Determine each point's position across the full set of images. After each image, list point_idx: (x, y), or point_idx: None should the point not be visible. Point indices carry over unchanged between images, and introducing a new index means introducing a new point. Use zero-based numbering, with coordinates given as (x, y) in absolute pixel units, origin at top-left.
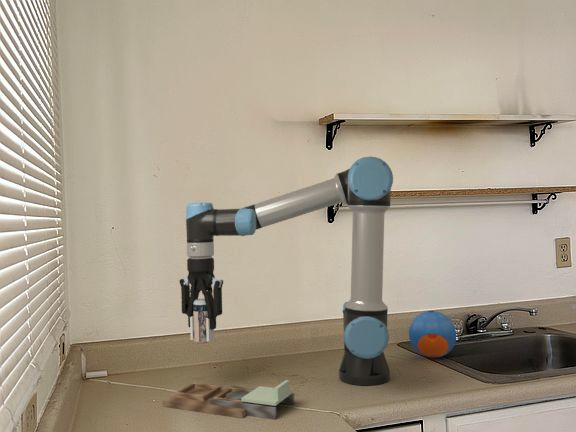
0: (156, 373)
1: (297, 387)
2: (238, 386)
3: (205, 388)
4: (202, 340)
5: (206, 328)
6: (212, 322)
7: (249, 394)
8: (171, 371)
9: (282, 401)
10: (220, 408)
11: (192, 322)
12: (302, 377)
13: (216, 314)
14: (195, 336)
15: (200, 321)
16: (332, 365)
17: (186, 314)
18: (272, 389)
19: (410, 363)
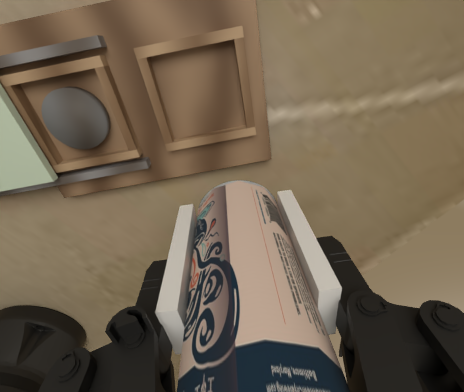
0: (431, 182)
1: (84, 257)
2: (127, 171)
3: (211, 132)
4: (210, 196)
5: (185, 250)
6: (145, 298)
7: (2, 113)
8: (400, 208)
9: None
10: (39, 22)
11: (305, 258)
12: (125, 295)
13: (61, 366)
14: (251, 196)
15: (214, 268)
16: None
17: (398, 305)
18: (2, 178)
19: None
